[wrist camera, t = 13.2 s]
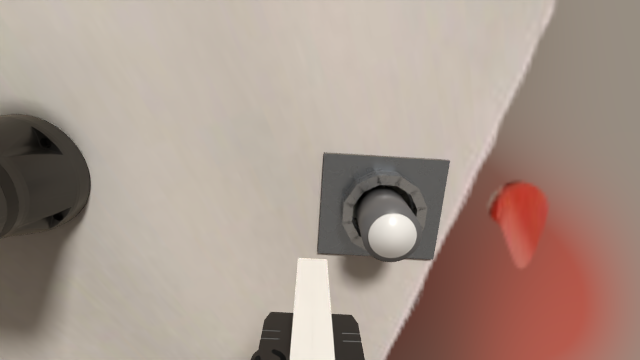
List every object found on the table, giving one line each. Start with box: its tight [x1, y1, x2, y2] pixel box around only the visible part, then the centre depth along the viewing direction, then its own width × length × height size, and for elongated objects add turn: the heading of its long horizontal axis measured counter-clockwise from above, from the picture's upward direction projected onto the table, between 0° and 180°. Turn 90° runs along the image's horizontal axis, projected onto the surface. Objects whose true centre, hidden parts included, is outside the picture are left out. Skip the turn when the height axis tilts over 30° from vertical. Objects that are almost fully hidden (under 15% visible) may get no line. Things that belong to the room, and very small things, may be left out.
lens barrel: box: [355, 185, 422, 262], centre depth 39 cm, size 6×6×8 cm
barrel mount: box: [318, 153, 450, 259], centre depth 43 cm, size 16×14×3 cm
